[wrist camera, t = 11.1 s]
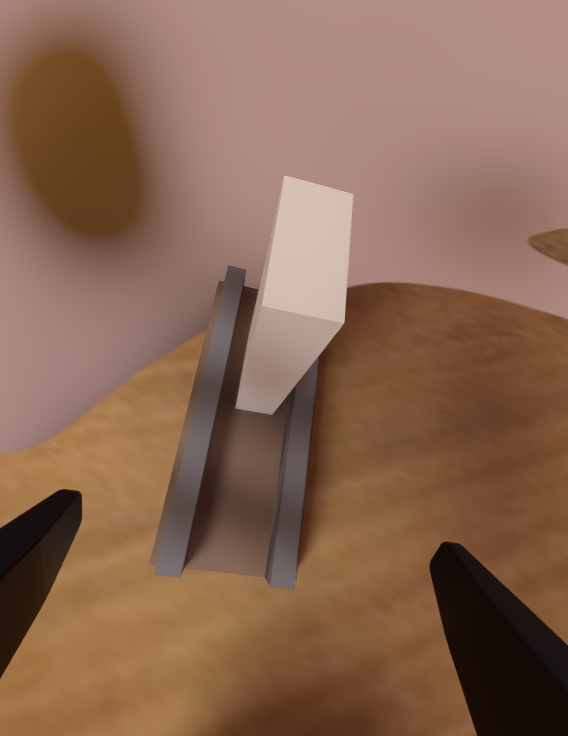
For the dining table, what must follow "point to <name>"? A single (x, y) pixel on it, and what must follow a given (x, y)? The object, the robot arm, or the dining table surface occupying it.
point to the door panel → (297, 292)
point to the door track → (237, 462)
